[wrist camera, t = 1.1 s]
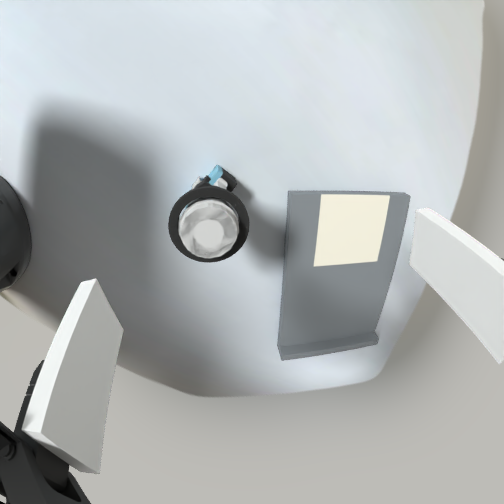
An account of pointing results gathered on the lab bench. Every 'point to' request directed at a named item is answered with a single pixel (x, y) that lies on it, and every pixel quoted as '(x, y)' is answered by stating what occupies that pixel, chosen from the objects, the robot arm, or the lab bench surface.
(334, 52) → the lab bench surface
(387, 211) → the grey lipped board
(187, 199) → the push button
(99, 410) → the robot arm
